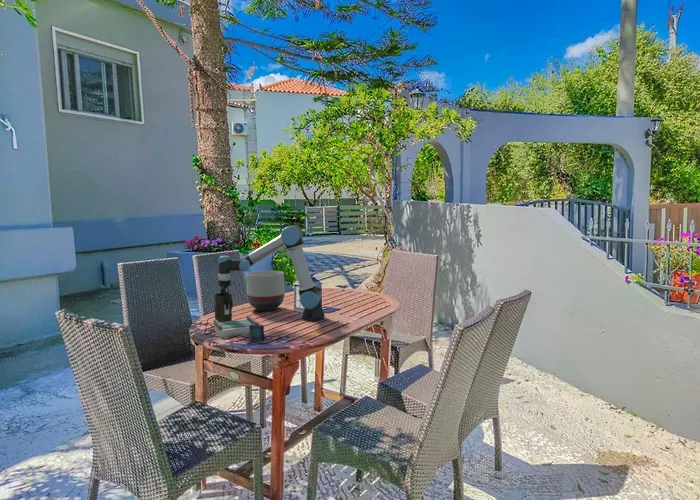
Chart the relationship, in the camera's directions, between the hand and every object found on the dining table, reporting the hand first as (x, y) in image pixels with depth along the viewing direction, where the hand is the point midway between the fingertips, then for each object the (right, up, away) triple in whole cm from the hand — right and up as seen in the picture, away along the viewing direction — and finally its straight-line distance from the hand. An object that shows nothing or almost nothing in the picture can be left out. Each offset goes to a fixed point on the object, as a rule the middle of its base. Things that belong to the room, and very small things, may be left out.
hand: (224, 312), depth 314 cm
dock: (+11, -9, -18) cm, 23 cm away
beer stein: (0, -8, +2) cm, 8 cm away
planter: (+20, -3, +39) cm, 44 cm away
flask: (+28, -11, -38) cm, 49 cm away
